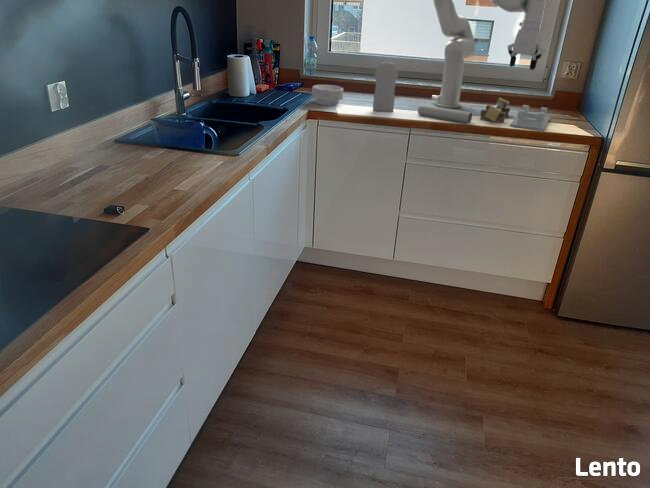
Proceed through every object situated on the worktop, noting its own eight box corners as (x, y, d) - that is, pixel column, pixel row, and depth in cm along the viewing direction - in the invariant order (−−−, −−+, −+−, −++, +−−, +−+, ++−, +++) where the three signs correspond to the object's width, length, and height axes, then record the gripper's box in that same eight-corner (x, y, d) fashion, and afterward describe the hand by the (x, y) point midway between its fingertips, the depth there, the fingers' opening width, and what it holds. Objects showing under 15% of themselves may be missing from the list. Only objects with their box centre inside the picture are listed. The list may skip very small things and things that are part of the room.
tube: (415, 107, 232) (467, 115, 219) (420, 101, 235) (472, 109, 222) (416, 117, 235) (467, 126, 222) (421, 112, 238) (472, 120, 225)
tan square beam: (484, 116, 225) (490, 106, 223) (494, 107, 244) (499, 97, 242) (494, 121, 224) (500, 111, 221) (503, 111, 243) (509, 102, 241)
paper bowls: (348, 103, 251) (349, 86, 247) (332, 108, 239) (332, 91, 236) (322, 99, 258) (323, 83, 254) (305, 103, 247) (306, 87, 243)
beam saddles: (479, 119, 231) (481, 110, 229) (486, 113, 243) (487, 104, 241) (503, 122, 227) (504, 113, 225) (508, 116, 239) (510, 107, 237)
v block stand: (509, 126, 221) (512, 112, 218) (518, 115, 242) (521, 102, 239) (543, 131, 216) (547, 117, 213) (549, 119, 237) (552, 106, 234)
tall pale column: (372, 111, 236) (376, 62, 226) (371, 109, 240) (375, 61, 230) (394, 112, 237) (399, 63, 227) (393, 110, 241) (398, 61, 230)
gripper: (508, 24, 221) (500, 65, 229) (545, 28, 210) (536, 71, 218) (516, 24, 226) (508, 64, 234) (554, 28, 214) (544, 70, 222)
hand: (521, 67), depth 226 cm, fingers open, 9 cm apart
